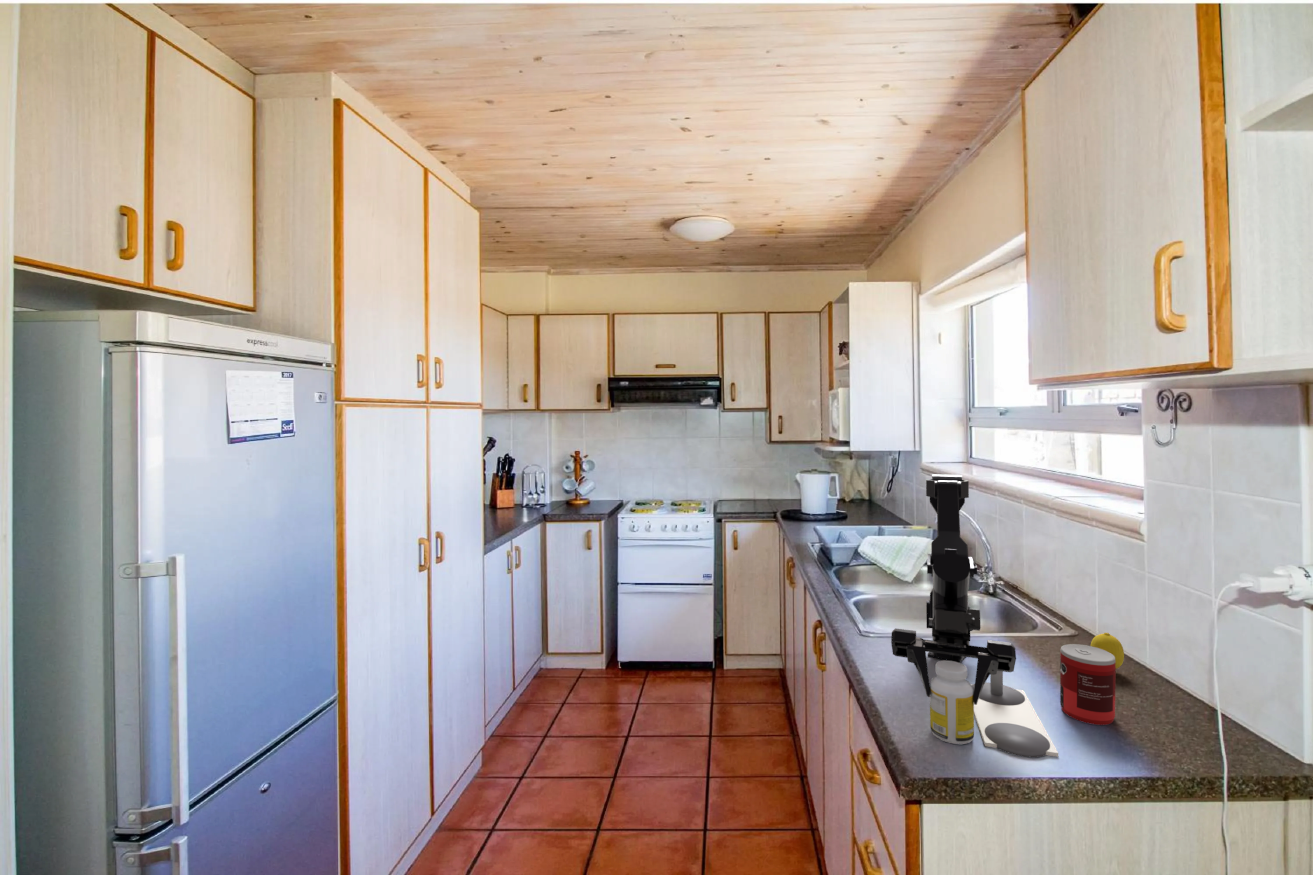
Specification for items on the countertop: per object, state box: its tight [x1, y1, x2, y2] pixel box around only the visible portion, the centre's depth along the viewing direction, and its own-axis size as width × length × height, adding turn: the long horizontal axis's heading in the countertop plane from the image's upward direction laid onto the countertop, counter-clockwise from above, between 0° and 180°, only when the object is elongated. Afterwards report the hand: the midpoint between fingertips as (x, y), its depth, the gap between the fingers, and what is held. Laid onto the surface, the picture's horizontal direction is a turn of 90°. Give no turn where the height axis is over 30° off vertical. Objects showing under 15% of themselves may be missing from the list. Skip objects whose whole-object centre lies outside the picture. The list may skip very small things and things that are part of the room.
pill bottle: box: [929, 660, 975, 745], centre depth 98 cm, size 6×6×12 cm
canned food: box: [1059, 643, 1117, 726], centre depth 104 cm, size 8×8×11 cm
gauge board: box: [970, 671, 1059, 758], centre depth 104 cm, size 25×10×7 cm, turn 160°
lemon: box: [1089, 632, 1125, 670], centre depth 121 cm, size 6×6×8 cm
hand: (951, 699), depth 97 cm, fingers closed on pill bottle, 6 cm apart
